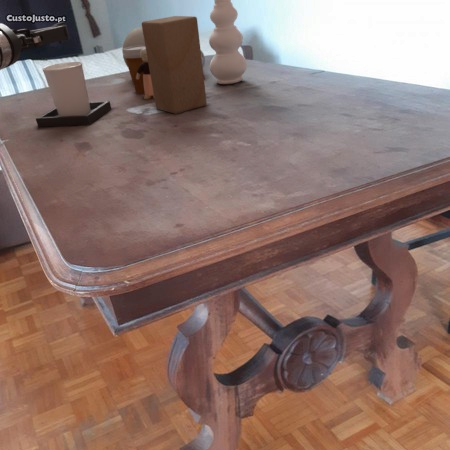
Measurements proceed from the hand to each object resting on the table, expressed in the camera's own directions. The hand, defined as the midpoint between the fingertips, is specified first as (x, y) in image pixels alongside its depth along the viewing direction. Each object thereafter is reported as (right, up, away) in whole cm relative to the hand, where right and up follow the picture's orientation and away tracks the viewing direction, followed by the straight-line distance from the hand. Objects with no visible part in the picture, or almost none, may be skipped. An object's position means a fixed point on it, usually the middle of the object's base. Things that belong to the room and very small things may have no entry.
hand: (35, 31), depth 106 cm
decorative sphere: (+17, +16, +56) cm, 61 cm away
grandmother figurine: (+22, -2, +31) cm, 38 cm away
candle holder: (+3, -11, +20) cm, 23 cm away
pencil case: (+30, +18, +56) cm, 66 cm away
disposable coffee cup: (+18, +3, +38) cm, 43 cm away
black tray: (+3, -11, +20) cm, 23 cm away
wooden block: (+31, -10, +18) cm, 37 cm away
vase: (+44, +5, +37) cm, 58 cm away
